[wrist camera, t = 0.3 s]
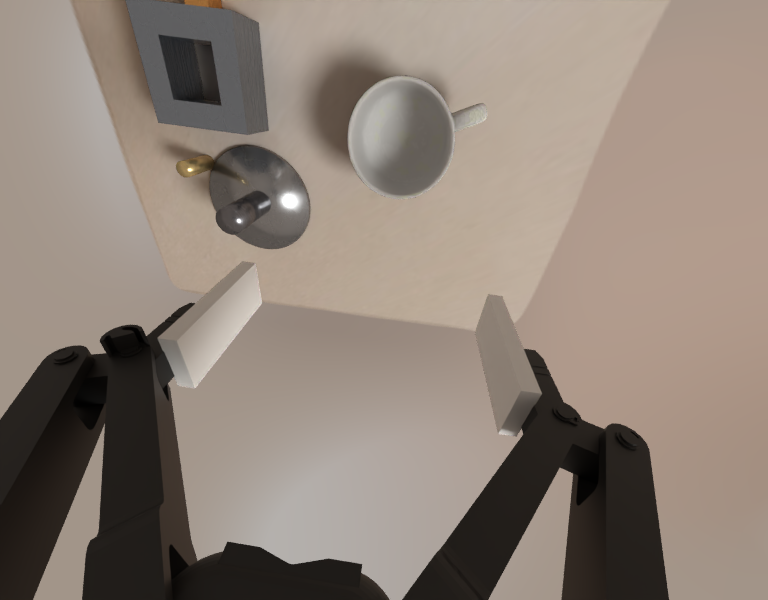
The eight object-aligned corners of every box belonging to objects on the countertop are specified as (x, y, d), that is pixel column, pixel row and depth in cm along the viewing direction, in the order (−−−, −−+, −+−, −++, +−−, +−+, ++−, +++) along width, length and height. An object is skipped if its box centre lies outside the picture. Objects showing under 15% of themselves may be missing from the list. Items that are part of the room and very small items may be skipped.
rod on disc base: (201, 139, 39) (152, 147, 32) (308, 153, 38) (282, 165, 31) (222, 240, 47) (186, 265, 39) (311, 253, 46) (291, 281, 39)
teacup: (367, 187, 40) (357, 205, 33) (351, 89, 34) (335, 86, 28) (476, 174, 38) (488, 190, 31) (479, 66, 32) (494, 57, 25)
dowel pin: (199, 154, 40) (174, 160, 36) (213, 155, 40) (189, 162, 36) (203, 168, 41) (178, 176, 37) (216, 170, 41) (192, 178, 37)
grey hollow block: (268, 130, 37) (247, 134, 33) (190, 120, 38) (158, 122, 33) (252, -47, 29) (220, -74, 24) (151, -59, 29) (101, -88, 25)
